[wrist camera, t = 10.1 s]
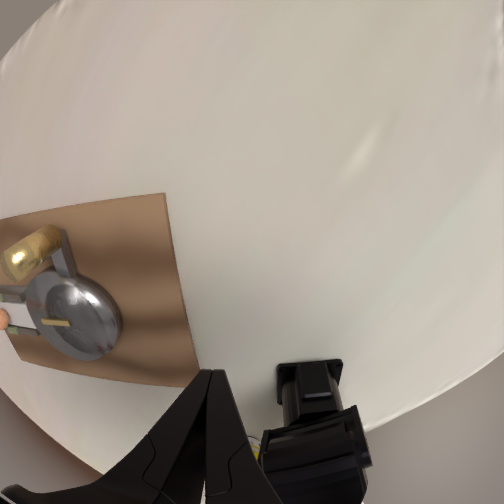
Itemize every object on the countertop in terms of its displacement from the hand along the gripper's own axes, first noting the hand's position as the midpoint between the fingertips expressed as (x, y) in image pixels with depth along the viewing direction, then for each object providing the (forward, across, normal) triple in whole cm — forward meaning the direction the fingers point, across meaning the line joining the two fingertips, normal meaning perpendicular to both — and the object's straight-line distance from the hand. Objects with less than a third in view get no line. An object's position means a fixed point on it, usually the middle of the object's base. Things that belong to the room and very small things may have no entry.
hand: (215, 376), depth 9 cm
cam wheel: (+12, +17, +5) cm, 21 cm away
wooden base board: (+13, +19, +6) cm, 24 cm away
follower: (+12, +26, +6) cm, 29 cm away
